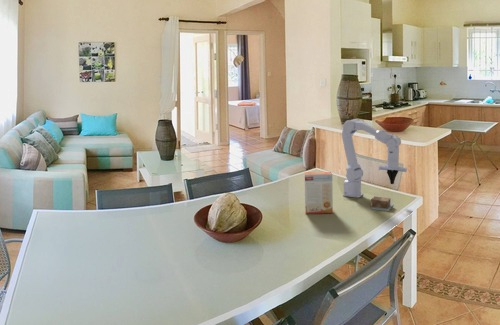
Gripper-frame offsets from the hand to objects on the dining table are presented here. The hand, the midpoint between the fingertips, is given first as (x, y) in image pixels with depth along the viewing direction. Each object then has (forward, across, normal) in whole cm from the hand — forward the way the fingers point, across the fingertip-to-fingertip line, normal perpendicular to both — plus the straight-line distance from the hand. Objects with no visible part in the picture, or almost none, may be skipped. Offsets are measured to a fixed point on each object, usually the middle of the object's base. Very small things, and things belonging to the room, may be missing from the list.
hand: (392, 183), depth 234 cm
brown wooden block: (+8, -8, -10) cm, 15 cm away
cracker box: (+11, -30, -31) cm, 44 cm away
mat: (+10, -2, -10) cm, 15 cm away
